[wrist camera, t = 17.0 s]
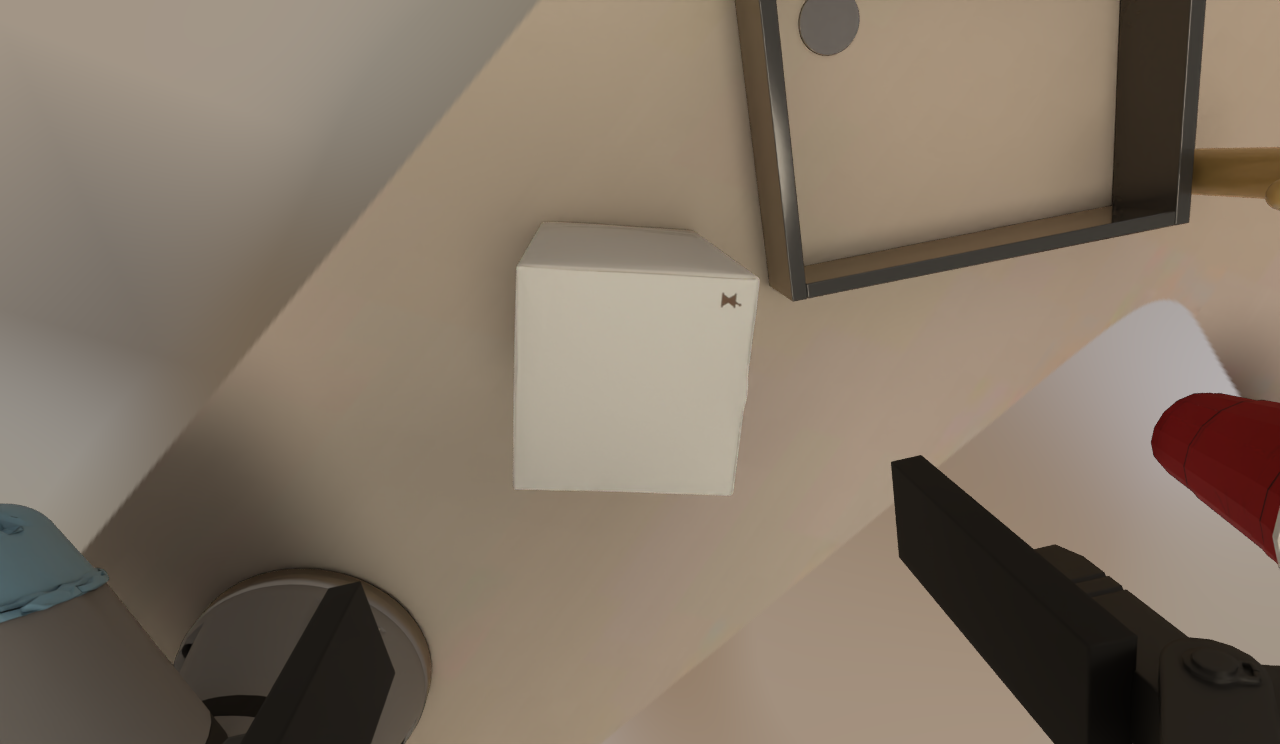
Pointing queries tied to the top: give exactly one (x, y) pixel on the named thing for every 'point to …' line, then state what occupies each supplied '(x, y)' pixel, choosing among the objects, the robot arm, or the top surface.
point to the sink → (1142, 200)
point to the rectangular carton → (629, 361)
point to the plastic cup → (1227, 459)
